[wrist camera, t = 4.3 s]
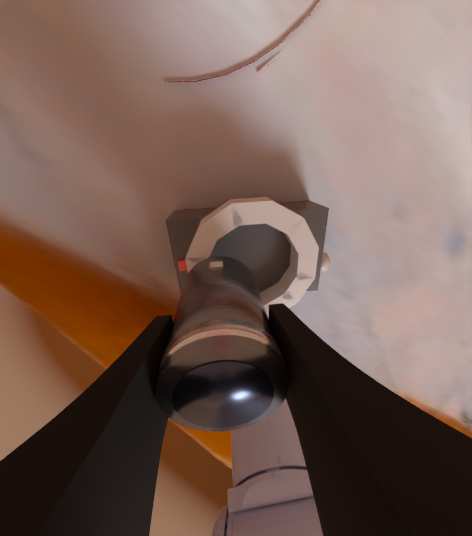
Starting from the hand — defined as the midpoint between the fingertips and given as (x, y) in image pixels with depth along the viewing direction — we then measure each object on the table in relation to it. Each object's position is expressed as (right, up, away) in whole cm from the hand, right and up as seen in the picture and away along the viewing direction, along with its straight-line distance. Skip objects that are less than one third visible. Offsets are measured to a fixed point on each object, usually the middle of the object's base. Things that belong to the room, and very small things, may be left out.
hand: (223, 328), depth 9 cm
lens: (0, +1, +3) cm, 3 cm away
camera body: (+1, +4, +8) cm, 9 cm away
